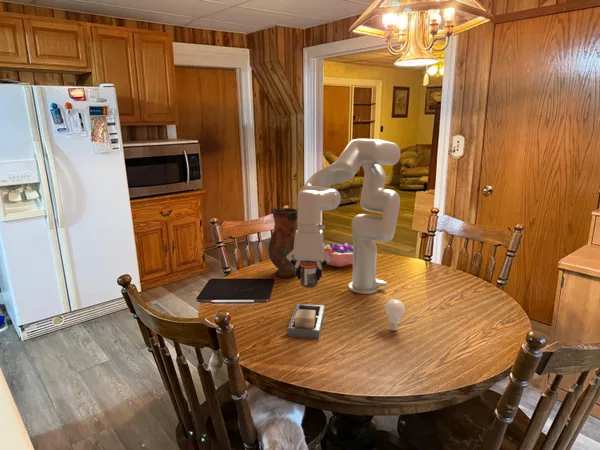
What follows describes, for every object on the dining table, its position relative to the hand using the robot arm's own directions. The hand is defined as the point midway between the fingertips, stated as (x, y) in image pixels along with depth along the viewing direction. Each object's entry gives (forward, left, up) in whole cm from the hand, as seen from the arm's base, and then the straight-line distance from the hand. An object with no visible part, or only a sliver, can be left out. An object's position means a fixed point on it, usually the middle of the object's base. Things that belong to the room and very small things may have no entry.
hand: (308, 278), depth 138 cm
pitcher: (+14, -42, -16) cm, 47 cm away
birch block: (0, +9, -15) cm, 17 cm away
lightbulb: (-29, +2, -16) cm, 33 cm away
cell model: (-7, -59, -16) cm, 61 cm away
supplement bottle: (0, 0, -3) cm, 3 cm away
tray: (0, +4, -16) cm, 17 cm away
